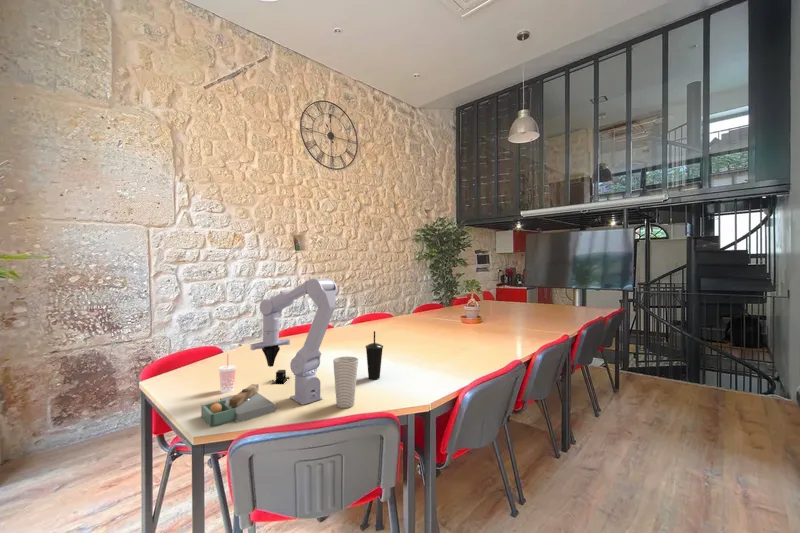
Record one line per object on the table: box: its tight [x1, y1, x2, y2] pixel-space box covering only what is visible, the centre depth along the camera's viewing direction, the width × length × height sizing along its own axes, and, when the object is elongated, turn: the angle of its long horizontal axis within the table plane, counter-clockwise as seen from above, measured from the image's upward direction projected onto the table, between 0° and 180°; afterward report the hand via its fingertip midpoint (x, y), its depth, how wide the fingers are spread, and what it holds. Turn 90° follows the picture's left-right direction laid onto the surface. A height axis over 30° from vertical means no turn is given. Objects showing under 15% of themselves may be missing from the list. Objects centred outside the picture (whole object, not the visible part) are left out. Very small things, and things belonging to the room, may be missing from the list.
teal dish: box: [200, 400, 236, 428], centre depth 106 cm, size 10×7×4 cm
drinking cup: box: [365, 331, 384, 381], centre depth 147 cm, size 8×8×20 cm
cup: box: [333, 356, 359, 409], centre depth 117 cm, size 8×8×16 cm
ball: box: [210, 403, 222, 414], centre depth 108 cm, size 4×4×4 cm
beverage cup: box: [218, 353, 237, 394], centre depth 130 cm, size 6×6×14 cm
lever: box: [229, 383, 260, 407], centre depth 115 cm, size 14×2×3 cm, turn 176°
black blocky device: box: [271, 369, 290, 385], centre depth 143 cm, size 12×7×5 cm, turn 3°
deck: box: [219, 392, 276, 423], centre depth 114 cm, size 18×12×2 cm, turn 44°
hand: (270, 366), depth 131 cm, fingers closed
